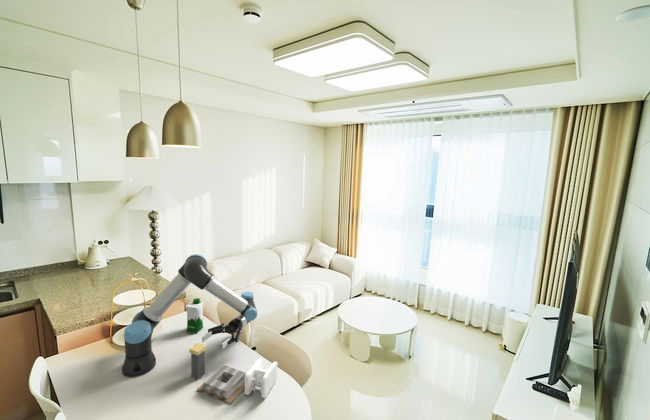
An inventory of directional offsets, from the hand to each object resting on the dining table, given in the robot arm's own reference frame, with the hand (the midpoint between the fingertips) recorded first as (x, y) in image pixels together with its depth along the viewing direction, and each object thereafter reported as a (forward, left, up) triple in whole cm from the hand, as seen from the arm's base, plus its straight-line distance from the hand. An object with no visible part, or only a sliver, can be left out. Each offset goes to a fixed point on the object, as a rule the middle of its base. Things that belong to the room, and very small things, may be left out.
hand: (212, 343), depth 158 cm
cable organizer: (+34, -4, -13) cm, 36 cm away
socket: (+17, -10, -13) cm, 23 cm away
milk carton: (-33, +21, -13) cm, 41 cm away
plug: (0, -10, -13) cm, 16 cm away
